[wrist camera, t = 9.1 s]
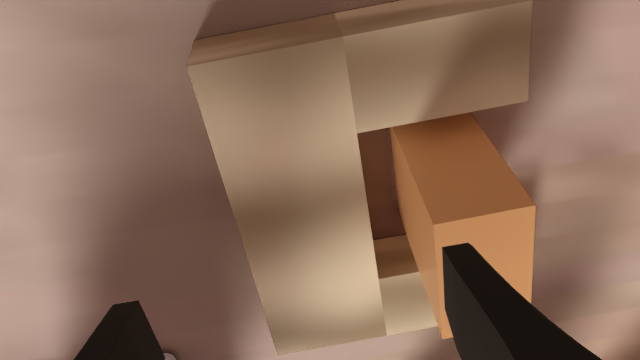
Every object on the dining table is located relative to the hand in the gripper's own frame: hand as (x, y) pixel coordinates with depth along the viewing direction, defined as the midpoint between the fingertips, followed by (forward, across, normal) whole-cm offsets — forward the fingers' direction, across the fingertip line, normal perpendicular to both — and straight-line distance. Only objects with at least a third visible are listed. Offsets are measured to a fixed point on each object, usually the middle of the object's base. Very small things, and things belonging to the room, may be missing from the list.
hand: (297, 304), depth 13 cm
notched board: (+10, -3, +3) cm, 11 cm away
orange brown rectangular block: (+10, -6, +3) cm, 12 cm away
